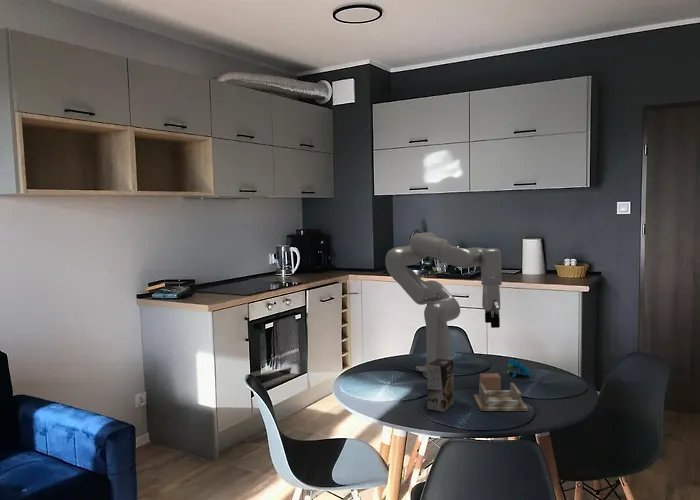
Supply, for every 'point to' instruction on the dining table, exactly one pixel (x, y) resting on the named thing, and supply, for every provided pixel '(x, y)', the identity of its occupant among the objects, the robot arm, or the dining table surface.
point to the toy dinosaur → (517, 367)
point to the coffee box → (440, 384)
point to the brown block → (491, 381)
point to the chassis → (500, 399)
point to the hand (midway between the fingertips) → (492, 325)
